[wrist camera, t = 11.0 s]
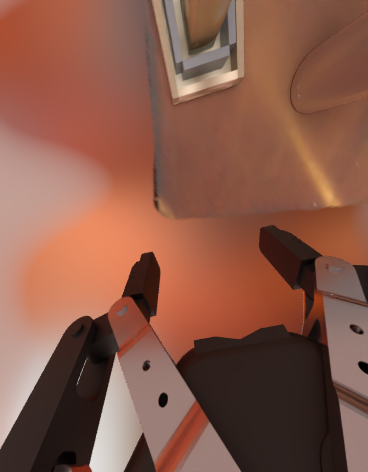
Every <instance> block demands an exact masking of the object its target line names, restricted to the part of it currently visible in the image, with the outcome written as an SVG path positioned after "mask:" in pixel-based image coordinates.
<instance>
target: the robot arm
mask: <svg viewBox="0 0 368 472" xmlns="http://www.w3.org/2000/svg"><path fill="white" fill-rule="evenodd" d="M366 98H368V11H367V12H365V13H364V14H363V15H361V16H360V17H358V18H357V19H356V20H354V21H353V22H352V23H350V24H349V25H347V26H346V27H345V28H343V29H342V30H340V31H339V32H338V33H336V34H335V35H333V36H332V37H330V38H329V39H328V40H326V41H325V42H323V43H322V44H321V45H319V46H318V47H317V48H315V49H314V50H313V51H312V52H310V53H309V54H308V55H307V56H306V58H305V59H304V60H303V61H302V63H301V64H300V66H299V67H298V69H297V72H296V74H295V76H294V79H293V82H292V87H291V101H292V104H293V107H294V108H295V109H296V110H297V111H298V112H300V113H303V114H309V113H312V112H316V111H320V110H324V109H328V108H332V107H336V106H339V105H343V104H347V103H351V102H354V101H358V100H362V99H366ZM259 248H260V251H261V253H262V254H263V255H264V256H265V257H266V259H267V260H268V261H269V262H270V263H271V264H272V266H273V267H274V268H275V269H276V270H277V271H278V273H279V274H280V275H281V276H282V277H283V278H284V279H285V281H286V282H287V283H288V284H289V285H290V287H291V288H292V289H293V290H295V289H300V288H302V289H303V290H304V294H303V329H302V335H300V334H297V333H293V332H288V331H287V330H286V328H285V327H284V325H283V324H282V325H277V326H272V327H266V328H260V329H259V330H257V331H255V332H253V333H251V334H249V335H248V336H246V337H244V338H242V339H231V338H223V337H210V338H205V339H199V340H195V341H194V346H195V347H194V348H192V349H191V350H189V351H188V352H187V353H186V354H185V355H184V356H183V357H182V358H181V359H180V360H179V361H178V363H177V364H176V363H175V362H174V360H173V359H172V357H171V356H170V354H169V353H168V352H167V350H166V348H165V347H164V345H163V344H162V342H161V341H160V339H159V337H158V336H157V334H156V333H155V332H154V330H153V328H152V327H151V325H150V324H149V322H150V317H152V316H156V311H157V303H158V293H159V283H160V267H159V265H158V262H157V260H156V258H155V255H154V253H153V252H148V253H144V254H142V255H141V258H140V261H139V262H136V263H135V264H134V266H133V267H132V269H131V272H130V275H129V279H128V281H127V284H126V286H125V289H124V292H123V295H122V298H121V299H119V300H118V301H116V302H115V303H114V304H113V305H112V306H111V308H110V310H109V312H108V313H106V314H104V315H102V316H100V317H98V318H96V319H94V320H93V319H92V318H91V317H90V316H83V317H81V318H79V319H77V320H76V321H75V322H73V323H72V324H71V325H70V326H69V327H68V328H67V330H66V331H65V333H64V334H63V336H62V338H61V340H60V342H59V344H58V345H57V347H56V349H55V351H54V353H53V354H52V356H51V358H50V360H49V362H48V363H47V365H46V367H45V369H44V371H43V373H42V374H41V376H40V378H39V380H38V382H37V384H36V385H35V387H34V389H33V391H32V393H31V394H30V396H29V398H28V400H27V402H26V403H25V406H24V407H23V409H22V411H21V413H20V415H19V416H18V418H17V420H16V422H15V424H14V425H13V427H12V429H11V431H10V433H9V435H8V436H7V438H6V440H5V442H4V444H3V445H2V447H1V449H0V472H92V470H91V468H90V467H89V464H90V460H91V455H92V451H93V447H94V443H95V438H96V434H97V430H98V425H99V421H100V418H101V413H102V409H103V405H104V400H105V396H106V392H107V388H108V384H109V380H110V375H111V371H112V367H113V363H114V359H115V354H116V352H118V353H117V355H118V359H119V362H120V365H121V368H122V371H123V373H124V377H125V380H126V383H127V385H128V388H129V391H130V394H131V397H132V400H133V403H134V406H135V409H136V412H137V415H138V418H139V421H140V424H141V426H142V429H143V433H142V435H141V437H140V439H139V441H138V443H137V445H136V447H135V450H134V451H133V454H132V456H131V458H130V460H129V462H128V464H127V466H126V468H125V470H124V472H368V266H365V265H351V264H350V263H348V262H347V261H344V260H342V259H339V258H336V257H331V256H322V255H321V254H320V253H318V252H317V251H315V250H314V249H313V248H311V247H310V246H308V245H307V244H305V243H303V242H302V241H301V240H300V239H297V237H296V236H294V235H293V234H291V233H289V232H286V231H284V230H280V229H278V228H276V226H274V225H270V226H266V227H262V228H261V229H260V237H259ZM85 360H86V363H85ZM84 363H85V365H84ZM83 366H84V368H83ZM82 368H83V371H82ZM81 371H82V373H81ZM80 374H81V376H80ZM79 377H80V379H79ZM78 379H79V381H78ZM77 382H78V384H77Z"/></svg>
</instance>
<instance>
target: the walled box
mask: <svg viewBox="0 0 368 472" xmlns="http://www.w3.org/2000/svg"><path fill="white" fill-rule="evenodd" d="M151 2H152V7H153V12H154V16H155V21H156V26H157V30H158V35H159V40H160V45H161V49H162V54H163V59H164V63H165V68H166V73H167V77H168V82H169V87H170V92H171V96H172V101H173V105H176V104H179V103H182V102H185V101H188V100H191V99H195V98H198V97H201V96H204V95H207V94H210V93H214V92H217V91H220V90H223V89H226V88H229V87H232V86H235V85H236V84H237V83H238V82H239V81H240V80H241V79H242V78H243V77H244V27H243V0H235V22H236V44H235V45H234V47H233V49H232V51H231V52H230V55H229V57H228V59H227V61H226V62H225V64H224V66H223V68H221V69H218V70H215V71H212V72H209V73H206V74H203V75H200V76H197V77H194V78H191V79H188V80H185V81H183V78H182V73H180V74H177V75H176V72H175V67H174V61H173V56H172V51H171V45H170V40H169V35H168V30H167V24H166V19H165V14H164V8H163V3H162V0H151ZM173 6H174V12H175V18H176V24H177V30H178V36H179V42H180V48H181V54H182V60H183V61H184V60H186V59H189V58H192V57H195V56H198V55H201V54H204V53H207V52H210V51H213V50H216V49H219V48H221V43H220V30H219V33H218V35H217V38H216V40H215V43H214V45H213V47H212V48H210V49H207V50H204V51H201V52H198V53H195V54H192V55H189V54H188V48H187V43H186V37H185V32H184V25H183V19H182V12H181V5H180V0H173Z"/></svg>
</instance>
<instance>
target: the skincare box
mask: <svg viewBox="0 0 368 472" xmlns="http://www.w3.org/2000/svg"><path fill="white" fill-rule="evenodd" d="M231 1H232V0H180V5H181V12H182V19H183V25H184V32H185V37H186V43H187V48H188V54H189V55H192V54H195V53H198V52H201V51H204V50H207V49H210V48H212V47H213V45H214V43H215V40H216V38H217V35H218V33H219V30H220V28H221V25H222V23H223V21H224V18H225V16H226V13H227V11H228V8H229V6H230V3H231Z"/></svg>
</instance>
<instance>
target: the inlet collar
mask: <svg viewBox="0 0 368 472" xmlns="http://www.w3.org/2000/svg"><path fill="white" fill-rule="evenodd" d="M162 3H163V8H164V14H165V19H166V24H167V30H168V35H169V40H170V45H171V51H172V56H173V61H174V67H175V72H176V75H177V74H180V73H182V78H183V81H185V80H188V79H191V78H194V77H197V76H200V75H203V74H206V73H209V72H212V71H215V70H218V69H221V68H223V66H224V64H225V62H226V61H227V59H228V57H229V55H230V52H231V51H232V49H233V47H234V45H235V44H236V22H235V0H232V1H231V3H230V6H229V8H228V11H227V13H226V16H225V18H224V21H223V23H222V25H221V28H220V43H221V48H219V49H216V50H213V51H210V52H207V53H204V54H201V55H198V56H195V57H192V58H189V59H186V60H184V61H183V60H182V54H181V48H180V42H179V36H178V30H177V24H176V18H175V12H174V6H173V0H162Z"/></svg>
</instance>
